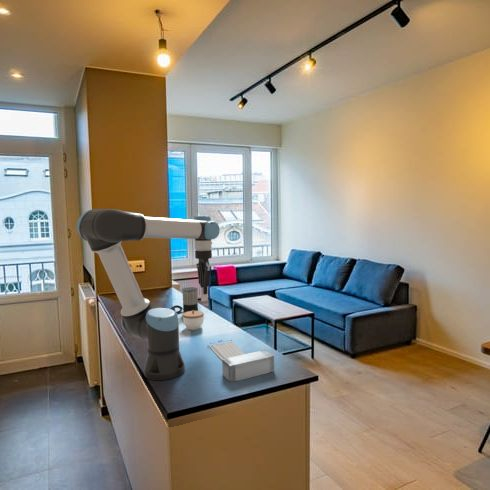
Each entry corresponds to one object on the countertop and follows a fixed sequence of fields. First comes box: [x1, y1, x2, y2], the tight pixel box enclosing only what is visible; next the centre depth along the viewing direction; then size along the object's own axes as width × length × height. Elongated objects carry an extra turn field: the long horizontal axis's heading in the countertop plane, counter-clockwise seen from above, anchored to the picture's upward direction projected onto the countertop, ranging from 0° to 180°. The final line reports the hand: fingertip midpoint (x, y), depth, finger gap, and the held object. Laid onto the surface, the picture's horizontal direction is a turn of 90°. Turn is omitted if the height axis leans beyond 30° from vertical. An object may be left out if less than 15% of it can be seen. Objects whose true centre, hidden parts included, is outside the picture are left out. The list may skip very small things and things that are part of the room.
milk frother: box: [169, 286, 199, 314], centre depth 226 cm, size 14×16×15 cm
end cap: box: [221, 349, 275, 383], centre depth 143 cm, size 18×7×6 cm, turn 117°
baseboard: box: [207, 339, 246, 361], centre depth 158 cm, size 31×3×12 cm
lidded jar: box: [182, 310, 205, 331], centre depth 198 cm, size 11×11×9 cm
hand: (204, 300), depth 177 cm, fingers closed
